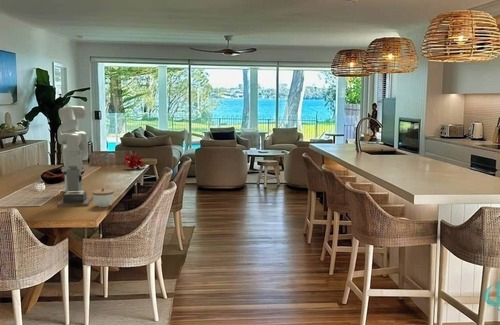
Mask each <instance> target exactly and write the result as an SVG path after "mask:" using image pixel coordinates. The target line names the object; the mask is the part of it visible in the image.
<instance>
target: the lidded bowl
mask: <svg viewBox="0 0 500 325" xmlns="http://www.w3.org/2000/svg"><path fill="white" fill-rule="evenodd" d="M92 201H93V202H94V204H95V206H97V207H99V208H107V207H110V205H111V204H112V203H113V201H114V190H113V189H105V188H104V187H101V189H97V190H93V191H92Z"/></svg>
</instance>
